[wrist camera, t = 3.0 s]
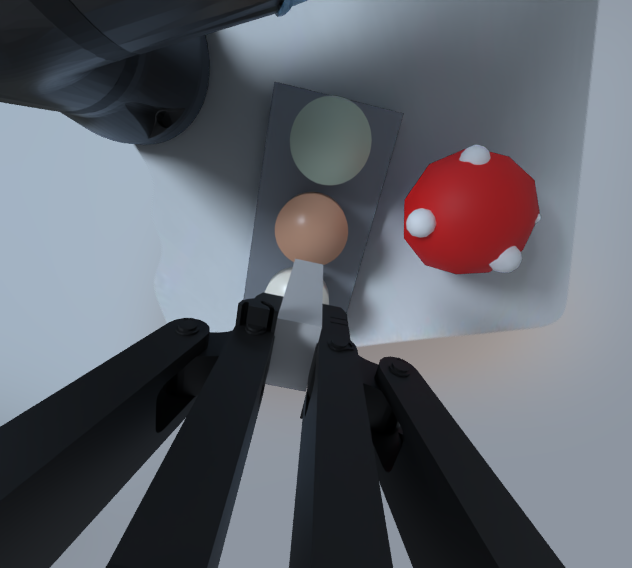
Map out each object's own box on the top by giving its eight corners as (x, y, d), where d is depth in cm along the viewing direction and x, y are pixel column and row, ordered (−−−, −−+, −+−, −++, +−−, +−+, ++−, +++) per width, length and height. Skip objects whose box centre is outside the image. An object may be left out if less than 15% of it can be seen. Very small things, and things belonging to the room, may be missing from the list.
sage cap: (286, 174, 28) (283, 175, 26) (300, 91, 26) (298, 86, 24) (356, 190, 29) (359, 193, 27) (377, 110, 26) (381, 106, 24)
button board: (246, 299, 38) (240, 310, 35) (277, 86, 30) (272, 78, 27) (341, 319, 39) (342, 331, 36) (398, 116, 30) (406, 111, 28)
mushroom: (373, 175, 32) (398, 184, 21) (479, 129, 31) (567, 113, 19) (403, 265, 36) (438, 313, 25) (500, 229, 34) (584, 263, 23)
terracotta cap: (273, 252, 31) (269, 258, 29) (284, 184, 29) (281, 186, 27) (337, 266, 31) (338, 273, 29) (354, 200, 29) (356, 203, 27)
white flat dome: (261, 317, 34) (257, 327, 32) (271, 260, 31) (267, 267, 29) (321, 329, 34) (320, 340, 32) (335, 274, 32) (336, 282, 30)
